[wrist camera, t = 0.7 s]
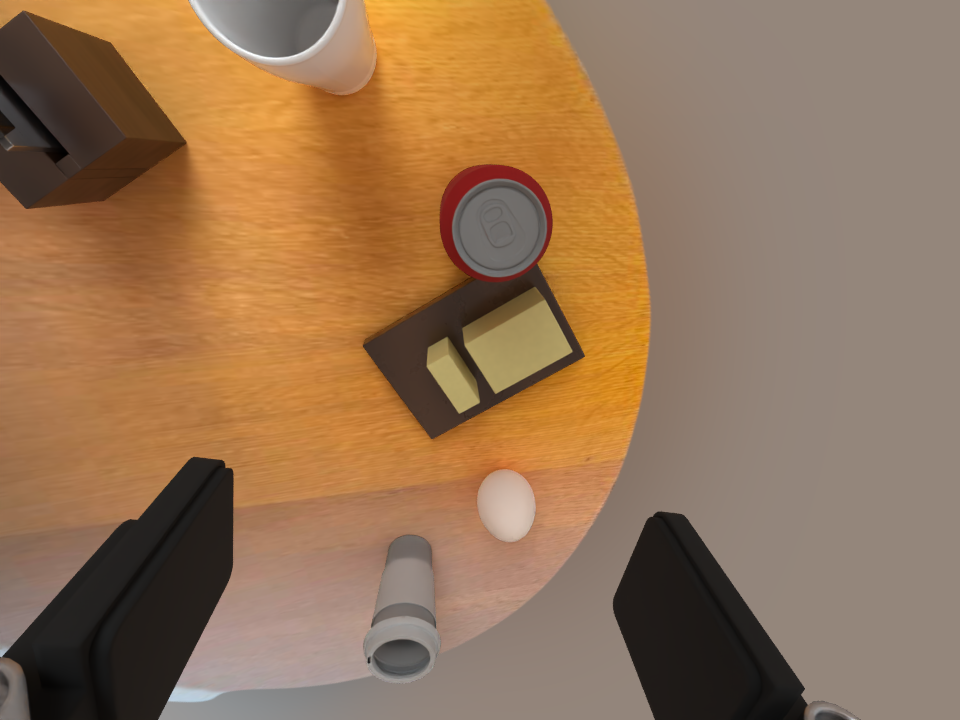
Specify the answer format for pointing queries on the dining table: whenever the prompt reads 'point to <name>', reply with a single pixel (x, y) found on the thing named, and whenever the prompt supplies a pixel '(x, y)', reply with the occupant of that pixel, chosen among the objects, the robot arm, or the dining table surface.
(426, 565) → the cup
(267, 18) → the drinking glass
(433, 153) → the dining table surface
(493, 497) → the egg
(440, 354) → the butter slice
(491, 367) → the butter block
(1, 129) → the knife
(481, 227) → the beverage can
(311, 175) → the dining table surface
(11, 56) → the knife block
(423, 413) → the board
